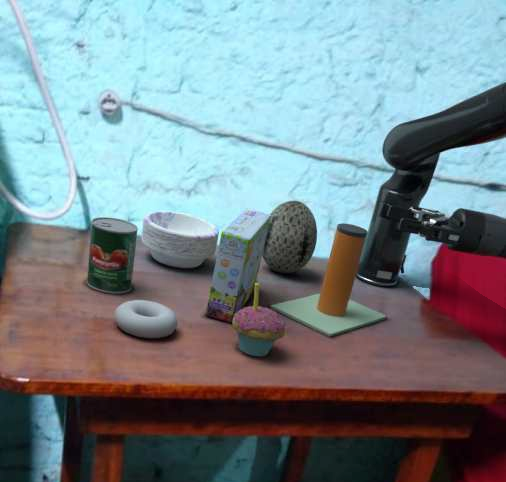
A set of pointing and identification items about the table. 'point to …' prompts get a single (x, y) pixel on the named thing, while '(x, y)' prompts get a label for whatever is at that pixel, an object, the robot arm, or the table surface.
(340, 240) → the crisps tube
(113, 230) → the canned tomato
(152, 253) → the paper bowls
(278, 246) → the decorative egg
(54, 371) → the table surface
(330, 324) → the placemat
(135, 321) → the donut
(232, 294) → the snack box
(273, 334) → the cupcake
